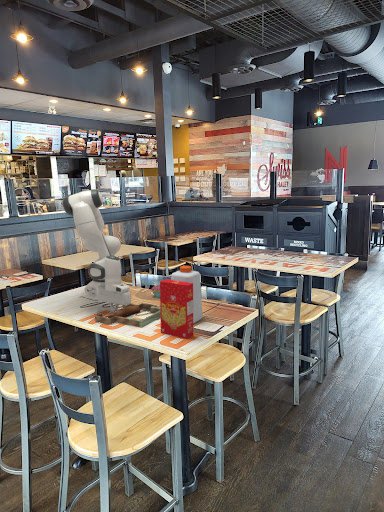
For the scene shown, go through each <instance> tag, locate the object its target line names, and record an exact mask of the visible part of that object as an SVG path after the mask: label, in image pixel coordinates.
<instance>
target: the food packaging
mask: <svg viewBox="0 0 384 512" xmlns="http://www.w3.org/2000/svg"><path fill="white" fill-rule="evenodd" d="M159 285H160V297H159V299H160V300H159V303H160V307H159V308H160V314H161V317H160V333H161V334H165V335H168V336H173V337H177V338H181V339H184V340H189V339H190V338H191V337H193V336H194V324H193V283H189V282H182V281H176V280H171V279H167V278H165V279H163V280H161V281H159Z"/></svg>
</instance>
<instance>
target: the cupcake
mask: <svg viewBox="0 0 384 512" xmlns="http://www.w3.org/2000/svg"><path fill="white" fill-rule="evenodd" d="M154 282H155V285H153V286H152V287H151V289H150V290H151V292H152V293H153V296H154V298H160V284H157V283H158V282H157V278H156V277H154Z"/></svg>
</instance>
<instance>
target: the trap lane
mask: <svg viewBox="0 0 384 512" xmlns="http://www.w3.org/2000/svg"><path fill="white" fill-rule="evenodd" d="M130 306H138V307H139V308H140V311H144V312H147V313H151V314H150V315H149V316H146V317H145V318H143V319H138V318H132V317H125V316H123V317H119V316H114V317H112V318H106V316H105V317H104V314H103V313H101V312H97V314H96V315H95V316H94V319H95V323H99V322H100V324H104V323H105V324H104V325H109V324H111V325H112V323H113V324H115V323H116V322H118V323H117V324H121V323H122V324H121V325H126V326H131V327H136V328H144V327H145V326H147V325H149V324H150V323H152V322H154V321H156V320H158V319H159V318H160V319H161V314H160V307H158V305H155V304H151V303H145V302H142V303H140V304H137V303H130V304H129V305H127V306H125V305H121V309H124V308H126V307H130ZM114 322H115V323H114Z"/></svg>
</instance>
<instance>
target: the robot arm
mask: <svg viewBox="0 0 384 512" xmlns="http://www.w3.org/2000/svg"><path fill="white" fill-rule="evenodd" d="M103 199H104V198H103V195H102V193H101V192H100V190H98V189H97V188H96V189H90V190H83V191H80V192H76V193H74V194H72V195H68V196H67V195H66V196H65V197H63V199H62V208H63V210H64V211H65V214H67V215H69V216H71V217H73V222H74V226H75V230H76V233H77V234H78V236H79V238H81V239H82V240H84V241H83V246H84V248H85V249H86V250H87V251H89V252H92V253H98V259H96V260H95V261H94V262H92V263H90V265H88V269H87V271H88V272H87V273H88V275H89V277H90V278H91V279H92V281H90V282H89V283H88V284H87V285H85V287H84V290H83V291H84V292H82V293H80V297H82V298H85V299H89V300H92V301H99V302H104V303H108V304H109V308H110V309H111V310H110V311H111V312H116V311H117V310H118V307H119V305H120V306H122V305H125V306H127V305H129V304H132V297H131V292H130V289H131V287H130V285H128V284H126V283H124V282H123V281H122V265H121V263H122V262H121V259H120V258H119V257H117V255H116V254H117V253H118V252H119V251H120V249H121V247H122V244H121V240H120V239H119V238H118V237H116V236H113V235H107V234H103V232H102V230H103V229H104V228H105V222H104V218H103V216H102V214H101V211H100V209H99V208H101V207H102V206H103V204H104V200H103Z"/></svg>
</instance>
